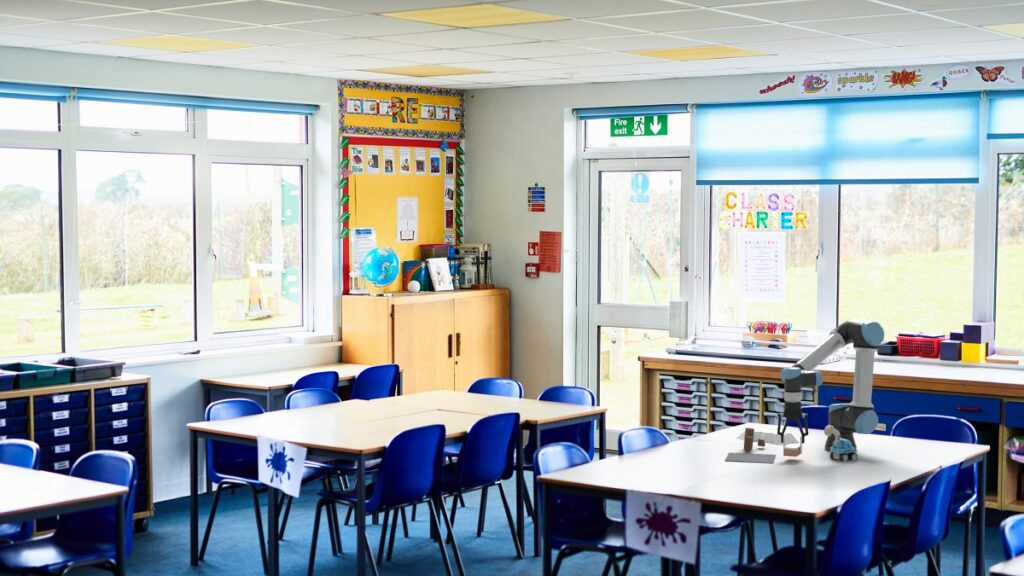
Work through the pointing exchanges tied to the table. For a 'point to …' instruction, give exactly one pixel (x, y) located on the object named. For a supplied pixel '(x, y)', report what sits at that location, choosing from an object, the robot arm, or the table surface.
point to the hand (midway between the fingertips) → (792, 449)
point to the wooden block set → (751, 439)
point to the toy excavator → (840, 446)
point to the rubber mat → (750, 458)
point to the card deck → (792, 450)
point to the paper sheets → (771, 436)
